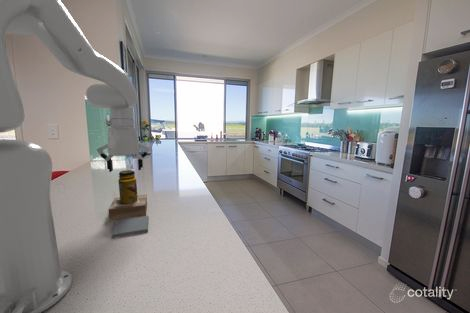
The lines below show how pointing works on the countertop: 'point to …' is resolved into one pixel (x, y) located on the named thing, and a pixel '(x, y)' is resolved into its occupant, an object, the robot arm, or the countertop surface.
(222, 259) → the countertop surface
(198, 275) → the countertop surface
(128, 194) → the condiment
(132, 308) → the countertop surface
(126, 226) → the coaster
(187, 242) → the countertop surface
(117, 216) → the block
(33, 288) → the robot arm
